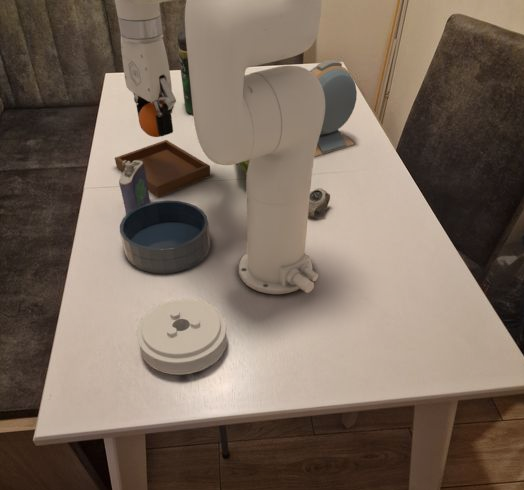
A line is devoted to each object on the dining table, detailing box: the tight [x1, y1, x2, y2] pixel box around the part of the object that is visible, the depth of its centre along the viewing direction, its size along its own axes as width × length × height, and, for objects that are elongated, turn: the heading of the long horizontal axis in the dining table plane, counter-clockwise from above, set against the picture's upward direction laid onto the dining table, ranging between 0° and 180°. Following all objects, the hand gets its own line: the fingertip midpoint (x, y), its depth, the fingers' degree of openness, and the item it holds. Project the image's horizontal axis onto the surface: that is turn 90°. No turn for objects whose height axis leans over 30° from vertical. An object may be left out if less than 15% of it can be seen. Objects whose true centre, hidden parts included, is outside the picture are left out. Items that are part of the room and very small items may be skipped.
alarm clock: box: [309, 59, 358, 158], centre depth 110 cm, size 14×10×18 cm
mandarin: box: [138, 102, 162, 138], centre depth 99 cm, size 6×6×6 cm
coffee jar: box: [177, 25, 193, 114], centre depth 124 cm, size 10×8×19 cm
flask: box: [118, 160, 151, 216], centre depth 91 cm, size 9×3×11 cm, turn 172°
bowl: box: [119, 199, 211, 275], centre depth 86 cm, size 15×15×5 cm
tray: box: [114, 139, 212, 198], centre depth 106 cm, size 17×14×2 cm
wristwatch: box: [308, 188, 331, 219], centre depth 94 cm, size 4×6×5 cm, turn 143°
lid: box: [136, 298, 228, 376], centre depth 70 cm, size 13×13×5 cm
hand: (156, 127), depth 100 cm, fingers closed on mandarin, 6 cm apart
